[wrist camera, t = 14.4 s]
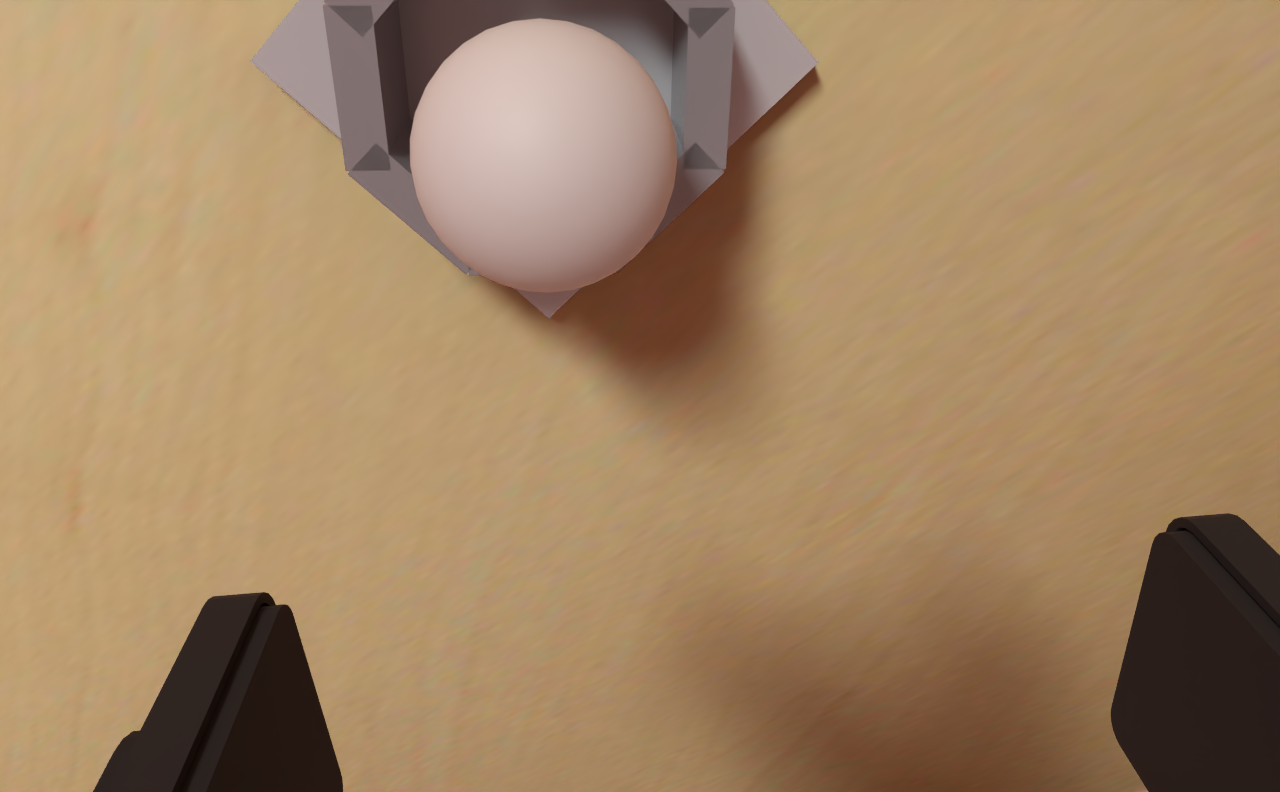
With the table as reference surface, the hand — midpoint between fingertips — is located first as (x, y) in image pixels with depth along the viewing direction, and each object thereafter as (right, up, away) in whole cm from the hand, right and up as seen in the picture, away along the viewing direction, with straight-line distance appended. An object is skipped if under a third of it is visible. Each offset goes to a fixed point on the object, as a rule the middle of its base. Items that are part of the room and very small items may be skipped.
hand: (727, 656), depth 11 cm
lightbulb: (-4, +12, +19) cm, 23 cm away
